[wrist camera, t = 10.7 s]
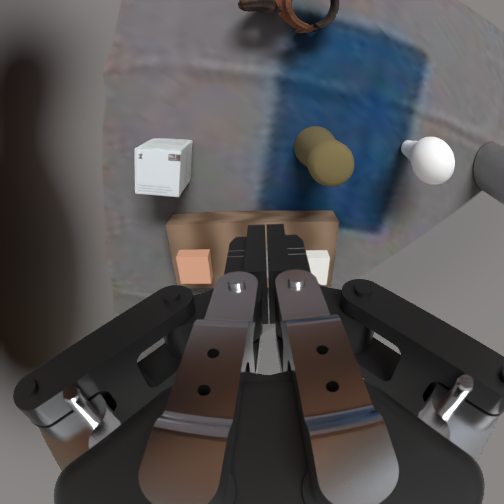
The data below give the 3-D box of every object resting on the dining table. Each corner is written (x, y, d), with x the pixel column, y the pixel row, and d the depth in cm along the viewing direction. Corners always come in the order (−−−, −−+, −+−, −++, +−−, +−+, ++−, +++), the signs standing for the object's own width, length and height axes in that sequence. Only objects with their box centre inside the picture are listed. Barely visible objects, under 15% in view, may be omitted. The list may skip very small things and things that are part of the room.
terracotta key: (209, 249, 41) (207, 256, 39) (213, 275, 43) (211, 283, 41) (179, 249, 41) (175, 257, 39) (183, 275, 43) (181, 283, 42)
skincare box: (152, 177, 41) (133, 194, 35) (152, 137, 38) (132, 147, 32) (191, 180, 41) (179, 198, 35) (194, 139, 38) (181, 149, 32)
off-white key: (327, 250, 40) (329, 257, 38) (323, 276, 42) (326, 284, 40) (295, 250, 40) (296, 258, 38) (293, 277, 42) (295, 285, 40)
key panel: (332, 210, 43) (338, 221, 40) (325, 271, 49) (330, 286, 45) (172, 213, 44) (165, 225, 41) (182, 273, 50) (177, 288, 46)
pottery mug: (304, -33, 25) (339, -32, 20) (314, 21, 33) (349, 32, 28) (220, -19, 25) (243, -21, 20) (239, 40, 32) (263, 51, 28)
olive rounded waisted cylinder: (321, 117, 36) (342, 127, 27) (344, 153, 39) (371, 175, 29) (285, 142, 38) (294, 159, 29) (309, 176, 41) (325, 204, 31)
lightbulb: (386, 128, 36) (423, 143, 27) (421, 126, 36) (463, 141, 26) (389, 168, 39) (424, 194, 30) (423, 164, 39) (462, 189, 29)
